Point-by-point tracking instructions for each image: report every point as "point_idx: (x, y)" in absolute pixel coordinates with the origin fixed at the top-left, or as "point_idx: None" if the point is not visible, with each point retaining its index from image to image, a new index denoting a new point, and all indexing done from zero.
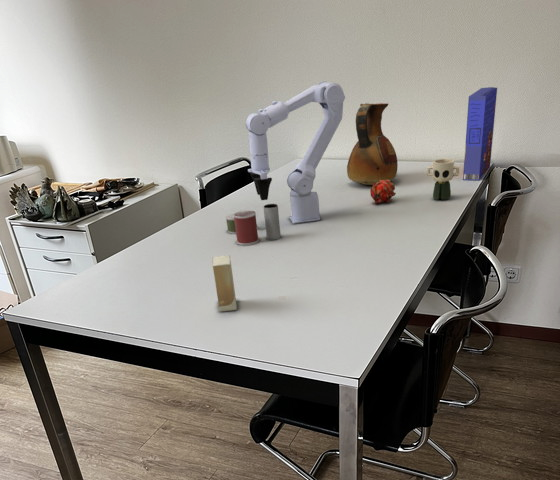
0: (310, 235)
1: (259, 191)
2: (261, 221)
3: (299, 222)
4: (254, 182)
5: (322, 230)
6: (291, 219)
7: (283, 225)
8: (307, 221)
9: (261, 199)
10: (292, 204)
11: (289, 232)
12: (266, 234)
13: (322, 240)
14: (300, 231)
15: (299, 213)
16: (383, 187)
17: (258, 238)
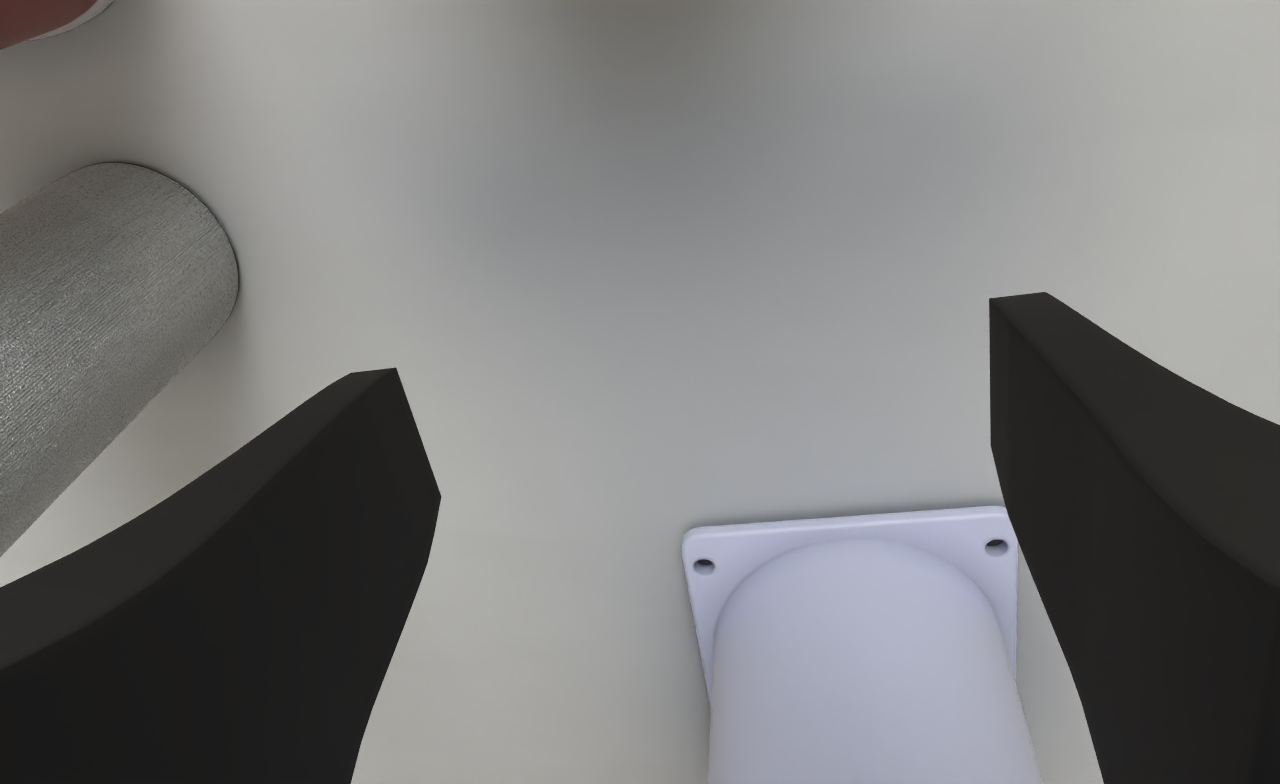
0: None
1: (171, 498)
2: (1047, 80)
3: (690, 597)
4: (1149, 451)
5: (369, 747)
6: (835, 530)
7: (678, 405)
8: (705, 674)
9: (332, 388)
10: (795, 724)
11: None
12: (51, 185)
13: None
14: None
15: (717, 689)
16: None
17: (29, 39)
